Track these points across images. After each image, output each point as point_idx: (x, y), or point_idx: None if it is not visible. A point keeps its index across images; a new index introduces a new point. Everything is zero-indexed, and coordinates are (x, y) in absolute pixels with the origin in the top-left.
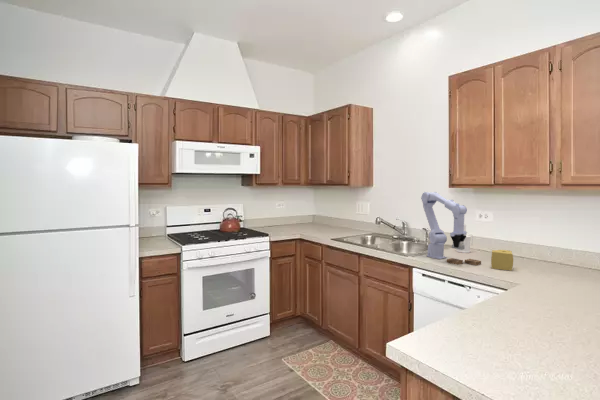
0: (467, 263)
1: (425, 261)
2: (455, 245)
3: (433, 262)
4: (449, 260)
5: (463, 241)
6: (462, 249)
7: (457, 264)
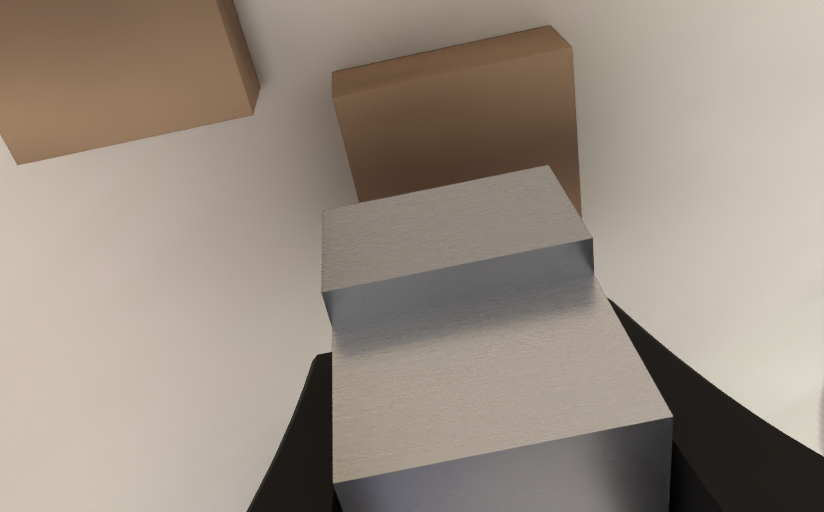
0: (237, 19)
1: (808, 373)
2: None
3: (768, 298)
4: (578, 213)
5: (355, 467)
6: (453, 184)
7: (542, 29)
